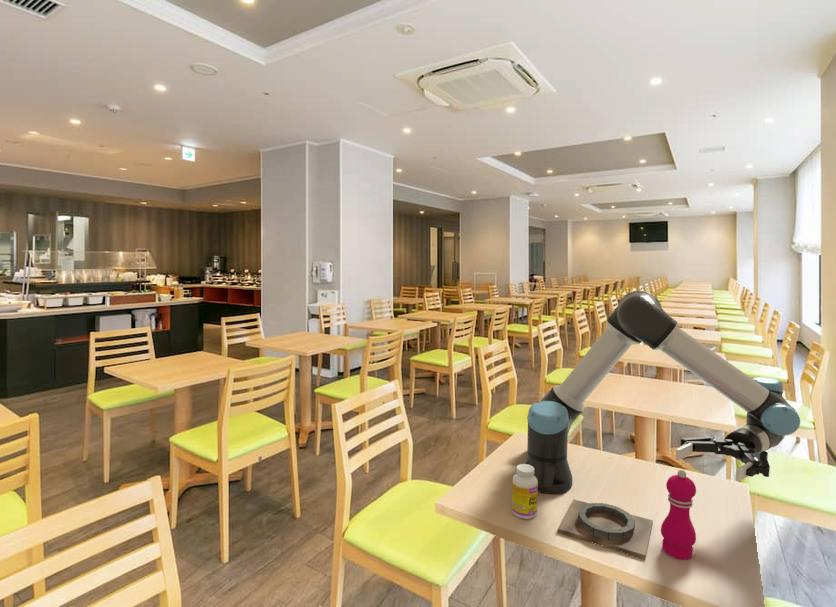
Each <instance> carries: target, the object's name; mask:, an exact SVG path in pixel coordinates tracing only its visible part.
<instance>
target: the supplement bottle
mask: <svg viewBox="0 0 836 607" xmlns="http://www.w3.org/2000/svg"><path fill="white" fill-rule="evenodd" d="M515 472H516V474H514V475H513V477H512V484H511V485H512V487H511V491H512V492H511V512H512V513H513V515H514V516H516V517H517V518H519V519H522V518H523V520H531V519H534V518H536V516H537V514H538V480H537V478H536V477H535V476H534V467H533V466H531V465H528V464H524V463H520V464H518V465H517V466H516V471H515Z"/></svg>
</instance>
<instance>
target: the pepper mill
mask: <svg viewBox="0 0 836 607" xmlns="http://www.w3.org/2000/svg"><path fill="white" fill-rule="evenodd" d="M665 485H666V491H667V492H668V495H667V496H668V498H667V501H668V502H669V511H668V514H667V515H666V516H665V518H664V520H663V522H662V524H661V527H660V533H661V536H662V541H661V542H662V545H661V548H662V550H663V551H664V552H665V553H666V554H667V555H669V557H672V558H673V559H677V560H691V558H692V557H693V553H694V547H693V546H694V545H695V544H696V542H697V534H696V530H695V527H694V525H693V522H692V520H691V516H690V510H691V508H693V503H694V500H693V498H694V497H695V496H696V494H697V488H696V484H695V482H694V481H693V480H692V479H691V478H690V477H687V472H686V471H685V470H684V469H683V470H682V469H680V470H678V471H677V474H675V475H671V476H669V478H667V481H666V484H665Z"/></svg>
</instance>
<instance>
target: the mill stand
mask: <svg viewBox="0 0 836 607" xmlns="http://www.w3.org/2000/svg"><path fill="white" fill-rule="evenodd" d="M653 523H654V520H652V519H649V518H645V517H641V516H638V515H633V514H631V513H629V512H628V511H626V510H624V509H622V508H621V507H619V506H617V505H613V504H608V503H606V502H605V503H604V502H590V503H589V502H586V501H583V500H577V499H575V498H574V499H572V500H571V503H570V505H569V507H568V509H567V510H566V512H565V514H564V516H563V518H562V520H561V522H560V524H559V525H558V527H557V533H559V534H561V535H562V534H563V535H565V536H568V535H569V536H570V537H571V538H576V539H578V540H582V541H585V542H589V543H591V542H593V543H592V544H594V543H596V544H595V545H597V544H599V545H598V546H601V545H603V546H602V547H604V546H605V548H607V547H608V549H610V548H611V550H614V549H615V550H614V551H617V550H618V551H617V552H620V551H622V552H621V553H623V552H624V554H627V553H628V554H627V555H629V556H630V555H631V556H633V555H634V557H637V558H640V559H644V560H646V557H647V553H648V548H649V544H650V538H651V534H652V531H653V530H652V529H653V526H654V525H653ZM569 536H568V537H569Z"/></svg>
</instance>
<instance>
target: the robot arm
mask: <svg viewBox="0 0 836 607" xmlns="http://www.w3.org/2000/svg"><path fill="white" fill-rule="evenodd" d="M605 321H606V328H605V329H604V331H603V332H602V333H601V334H600V336H599V337H598V338H597V340H595V342H594V343H593V345H591V347H590V348H589V350H588V351H587V352H586V353H585V354H584V356H583V357H582V358H581V359H580V361H579V362H578V363H577V364H576V365H575V367H574V368H573V369H572V371H571V372H570V373H569V374H568V376H567V377H566V378H565V379H564V381H562V383H561V384H555V385H553V386H552V387H551V389H550V390H549V391H548V393H547V394H545V395H544V396H543V397H542V398H541V400H540V401H538V402H534V403H533V404H532V405H530V406H529V408H528V412H527V417H526V419H527V449H526V450H527V451H526V452H527V455H526V457H525V460H524V463H523V464H528V465H531V466H533V467H534V476H535V477H536V478H537V480H538V492H539V493H543V494H562V493H566V492H568V491H569V490H571V489H572V487H573V475H572V474H573V473H572V471H571V467H570V464H569V462H568V436H569V433H570V431H571V430H570V429H571V427H572V424H573V423H575V421H576V420H577V419H578V418H579V416H580V415H581V414H582V413H583V412H584V411H585V405H584V402H585V401H586V400H587V399H588V398H589V396H590V395H591V394H592V393H593V392H594V390H595V389H596V388H597V387H598V386H599V385H600V384H601V382H602V381H603V379H605V378H606V376H607V375H608V374H609V373H610V371H611V370H612V369H613V368H614V367H615V365H616V364H617V363H619V360H621V359H622V357H623V356H624V355H625V353H626V352H627V351H628V350H629V349H630V348H631V347H632V346H633V345H640V344H641V343H643V344H644V345H646V346H647V347H649V349H652V350H653V351H659V350H660V351H661V352H662V353H663V354H665V355H667V356H668V357H669V358H671V359H672V360H674V361H675V362H676V363H678V364H679V365H681V366H682V367H683V368H684V369H686V370H688V371H689V372H690V373H692V374H693V375H695V376H696V377H697V378H699V379H700V380H702V382H705V383H706V384H707V385H709V386H710V387H711V388H713V389H714V390H716V391H717V392H719V393H720V394H721V395H723V396H724V397H725V398H726V399H728V400H730V401H731V402H733V403H734V404H735V405H737V407H740V408H741V409H742V410H744V411H745V412H746V420H745V421H746V422H745V425H744V426H742V427H741V426H740V427H739V428H738V429H735V430H734V431H732V432H730V433H728V434H727V435H726V436H725V438H722V439H716V438H715V436H714V435H712V434H709V435H705V436H694V437H682V438H680V446H679V447H678V448H676V450H675V451H676V452H675V460H677V461H681V460H682V459H685V458H687V457H689V456H691V455H692V454H693V453H714V454H715V455H722V456H723V455H725V456H728V457H729V456H730V457H732V458H735V459H736V460H738V461H740V462H741V463H743V465H741V466H740V467H738V468H736V469H735V481H736V482H738V483H740V482H741V481H743V480H744V479H746V478H748V477H751V478H752V477H754V476H755V475H757V476H758V475H760V474H761V475H762V476H763V477H765V478H769V477H770V469H771V468H770V466H771V465H770V464H769V463H770V462H769V461H768V458H769V457H768V454H769V452H768V451H769V450H770V449H772V448H775V447H777V446H778V445H779V444H781V442H782V441H783V440H784V439H785V436H789V435H792V434H794V433H796V432H797V430H799V428H800V425H801V418H800V415H799V413H798V412H797V410H796V409H795V407H792V405H790V404H789V403H788V401H787V400H786V399H785V398H784V396H783V394H784V389H783V387H784V386H783V382H781V381H780V380H778V379H775V378H772V377H771V378H770V377H762V376H758V377H750V375H748V374H746V373H745V372H743V371H742V370H740V369H739V368H737V367H736V366H735V365H733V364H732V363H730V362H729V361H728V360H726V359H725V358H724V357H722V356H720V355H719V354H717V353H716V352H715V351H713V350H712V349H710V348H709V347H708V346H706V345H705V344H703V343H702V342H701V341H699V340H697V339H696V338H695V337H693V336H692V335H690V334H689V333H688V332H686V331H684V330H683V329H682V328H680V324H679V322H678V321H677V320H676V319H674V318H673V317H672V316H670V315H669V314H668V313H667V312H666V311H665V310H664V309H663V308H662V304H661V302H660V301H659V299H658V298H657V297H655V296H654V295H653V294H651V293H650V292H648V291H647V292H646V291H642V290H636V291H631V292H629V293H627V294H625V295H624V296H623V297H622V298H621V299H620V301H619V303H618V305H617V306H616V307H615V309H614V310H613V311H612V313H611V314H610V315H609V316H608V318H607V319H606V320H605ZM767 450H768V451H767ZM756 459H757V460H756Z"/></svg>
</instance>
